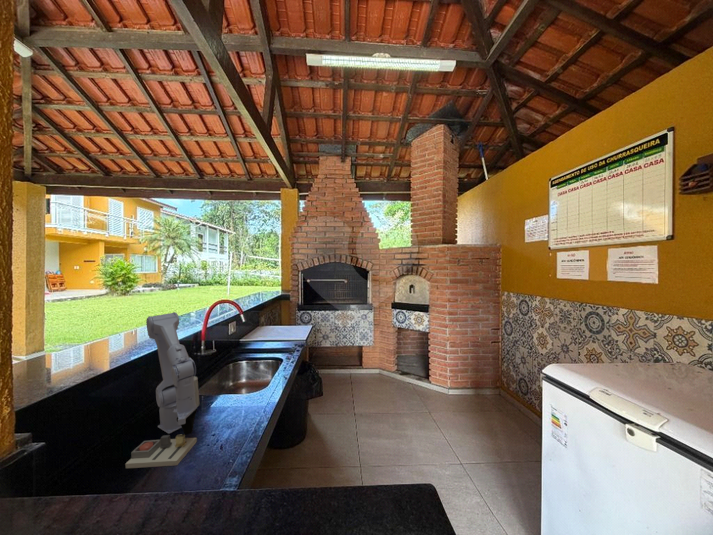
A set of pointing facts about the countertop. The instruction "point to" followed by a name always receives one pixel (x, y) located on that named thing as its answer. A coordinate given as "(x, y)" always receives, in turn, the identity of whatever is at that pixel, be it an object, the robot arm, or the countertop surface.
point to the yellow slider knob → (180, 440)
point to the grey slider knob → (165, 441)
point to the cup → (196, 391)
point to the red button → (146, 446)
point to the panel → (159, 454)
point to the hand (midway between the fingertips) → (188, 433)
